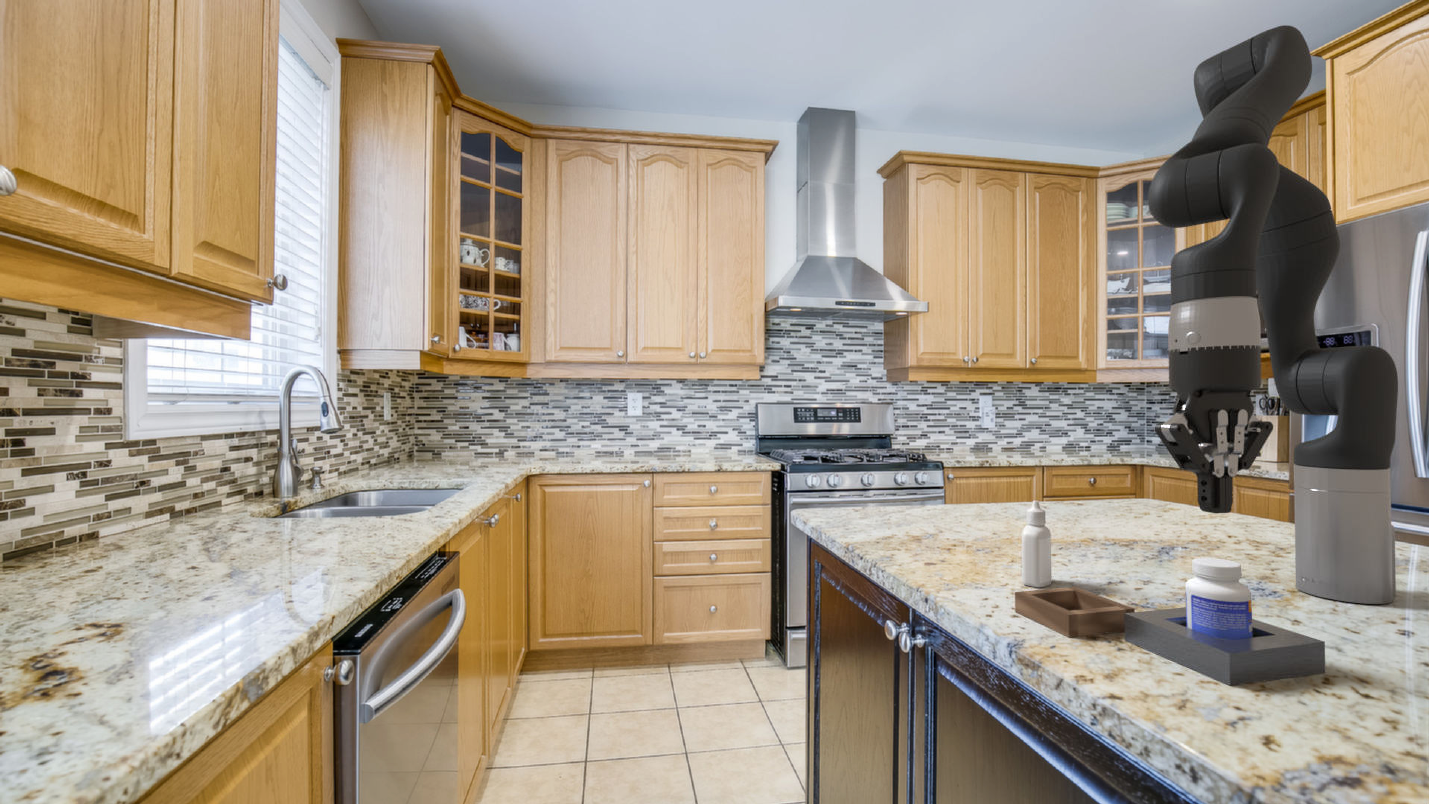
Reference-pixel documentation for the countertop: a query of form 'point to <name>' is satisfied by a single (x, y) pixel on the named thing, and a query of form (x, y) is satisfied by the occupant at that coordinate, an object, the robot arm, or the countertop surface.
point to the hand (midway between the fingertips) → (1215, 511)
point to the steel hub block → (1226, 648)
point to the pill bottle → (1218, 600)
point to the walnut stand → (1085, 618)
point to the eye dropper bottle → (1036, 549)
